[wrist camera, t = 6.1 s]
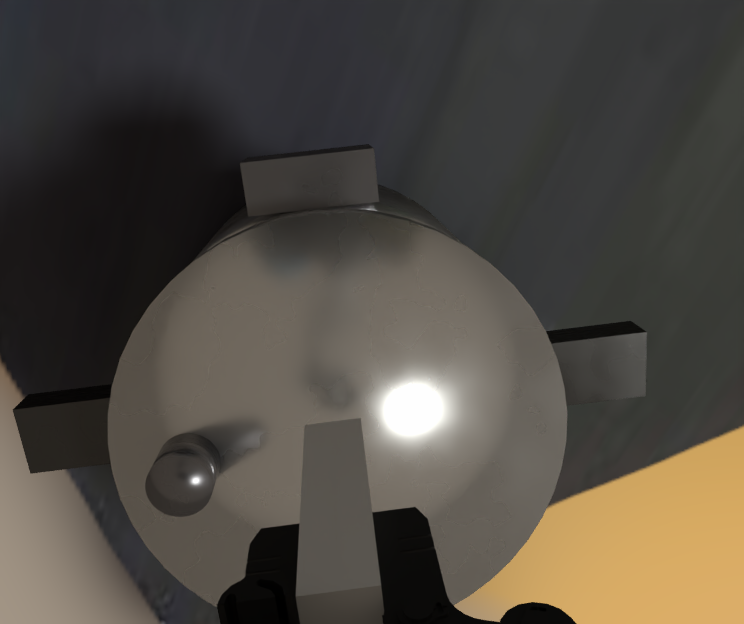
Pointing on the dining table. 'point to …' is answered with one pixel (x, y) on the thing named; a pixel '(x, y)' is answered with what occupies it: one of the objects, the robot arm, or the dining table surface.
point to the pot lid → (336, 394)
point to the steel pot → (301, 194)
